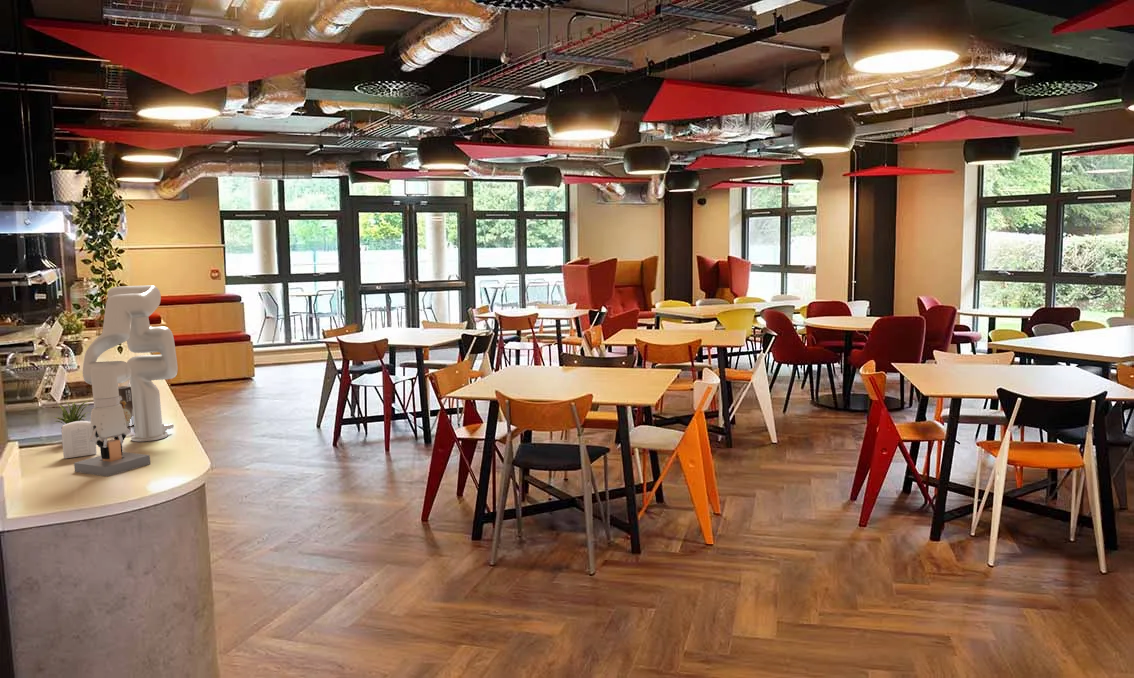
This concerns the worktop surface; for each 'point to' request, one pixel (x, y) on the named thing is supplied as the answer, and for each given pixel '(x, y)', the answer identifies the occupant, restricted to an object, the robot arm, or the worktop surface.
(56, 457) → the worktop surface
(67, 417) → the house plant
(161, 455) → the worktop surface
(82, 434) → the photo printer
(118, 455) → the orange rectangular block
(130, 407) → the coffee box
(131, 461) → the grey square hole board
